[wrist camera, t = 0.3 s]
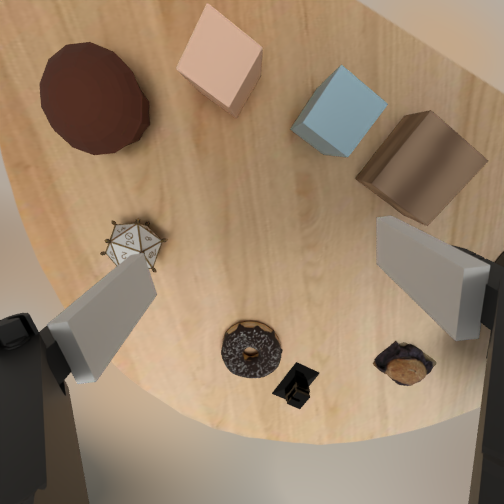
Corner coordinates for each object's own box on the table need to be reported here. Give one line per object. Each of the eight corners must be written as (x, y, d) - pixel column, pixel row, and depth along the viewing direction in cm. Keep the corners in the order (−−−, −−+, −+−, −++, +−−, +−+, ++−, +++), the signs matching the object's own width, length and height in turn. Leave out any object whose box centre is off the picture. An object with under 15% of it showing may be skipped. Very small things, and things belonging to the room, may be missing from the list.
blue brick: (351, 115, 37) (388, 104, 27) (323, 154, 39) (347, 157, 29) (317, 88, 36) (341, 64, 26) (290, 129, 38) (302, 122, 28)
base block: (455, 158, 39) (488, 160, 33) (404, 215, 42) (427, 226, 36) (404, 115, 37) (431, 110, 31) (355, 178, 40) (371, 183, 34)
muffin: (112, 168, 40) (69, 175, 31) (58, 94, 37) (-9, 76, 27) (177, 124, 38) (152, 117, 28) (126, 40, 34) (78, 1, 25)
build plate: (296, 352, 53) (300, 371, 48) (327, 366, 54) (334, 386, 50) (265, 394, 57) (266, 415, 52) (295, 407, 58) (298, 427, 53)
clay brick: (260, 76, 36) (262, 47, 25) (236, 118, 37) (228, 107, 27) (221, 45, 34) (207, 2, 24) (198, 90, 36) (175, 68, 26)
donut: (234, 372, 54) (232, 389, 50) (213, 325, 50) (209, 340, 46) (287, 359, 53) (290, 375, 49) (270, 310, 49) (271, 323, 45)
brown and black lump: (437, 358, 53) (450, 373, 49) (405, 385, 55) (415, 401, 52) (397, 333, 51) (408, 347, 47) (366, 362, 53) (374, 377, 50)
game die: (141, 226, 47) (87, 209, 38) (181, 223, 44) (131, 205, 35) (136, 278, 46) (78, 273, 37) (176, 279, 42) (123, 275, 33)
